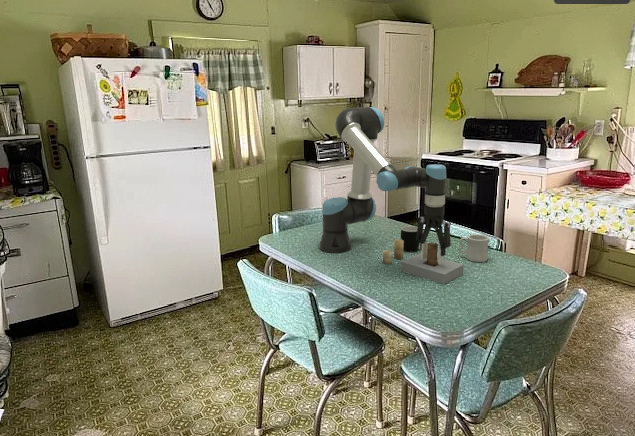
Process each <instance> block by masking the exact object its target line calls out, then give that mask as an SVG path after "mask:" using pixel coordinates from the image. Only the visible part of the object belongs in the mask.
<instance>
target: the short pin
mask: <svg viewBox="0 0 635 436" xmlns="http://www.w3.org/2000/svg"><path fill="white" fill-rule="evenodd" d="M382 264H383V265H391V264H393V250H389V249H385V250H382Z"/></svg>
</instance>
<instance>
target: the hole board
mask: <svg viewBox="0 0 635 436" xmlns="http://www.w3.org/2000/svg"><path fill="white" fill-rule="evenodd" d="M464 268H465V267H464V264H462V263H459V262H454V261H451V260H448V259H444V258H443V263H441V264H438V257H437V266H435V267H433V266H430V265H427V258H425V259H423V260H422V259H421V252H420V253H418V254H415V255H414V256H411V257H409V258H406V259H404V260H402V261H401V262H400V272H404V273H405V274H409V275H413V276H416V277H419V278H422V279H426V280H428V281H431V282H432V281H433V282H435V283H438V284H442V285H445V284H448V283H449V282H451V281H453V280H455V279H457V278H458V277H461V276H463V275H464Z"/></svg>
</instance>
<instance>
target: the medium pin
mask: <svg viewBox="0 0 635 436" xmlns="http://www.w3.org/2000/svg"><path fill="white" fill-rule="evenodd" d="M393 244H394V246H393V252H394V253H393V259H395V260H403V259H404V250H403V247H404V240H401V238H397V239H394V241H393Z"/></svg>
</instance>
